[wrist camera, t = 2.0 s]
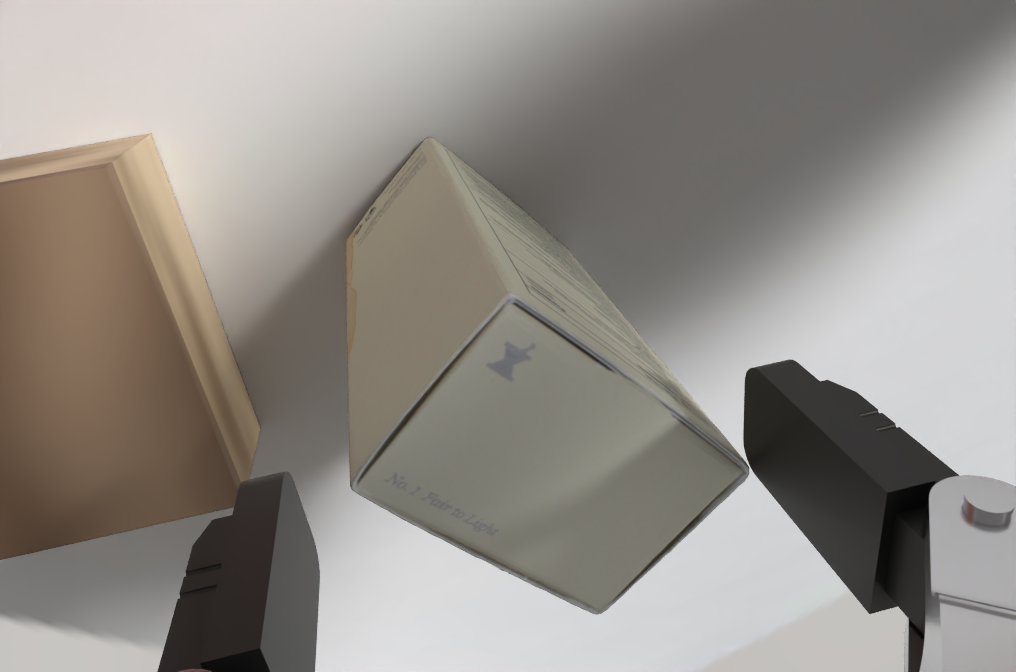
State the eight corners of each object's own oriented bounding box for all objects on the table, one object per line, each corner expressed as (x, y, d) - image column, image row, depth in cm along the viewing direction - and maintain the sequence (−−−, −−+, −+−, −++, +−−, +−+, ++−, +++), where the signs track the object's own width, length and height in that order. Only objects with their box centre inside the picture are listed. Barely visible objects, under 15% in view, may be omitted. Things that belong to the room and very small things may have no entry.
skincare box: (342, 240, 22) (321, 488, 11) (432, 126, 21) (503, 279, 10) (494, 347, 25) (595, 630, 14) (581, 250, 24) (762, 475, 13)
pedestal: (151, 133, 20) (105, 167, 16) (260, 428, 24) (243, 504, 21) (-238, 202, 19) (-376, 253, 15) (-47, 495, 23) (-119, 587, 20)
